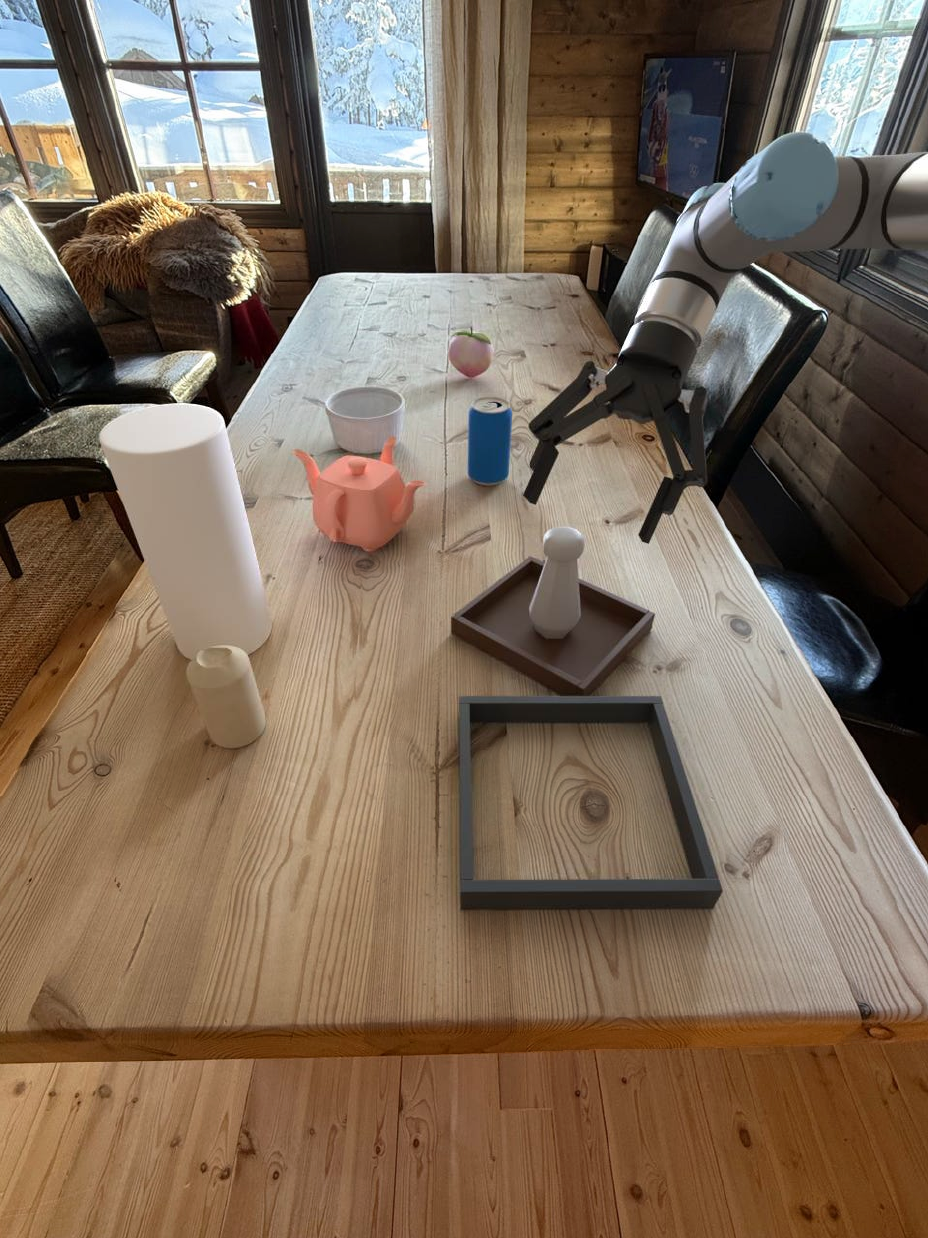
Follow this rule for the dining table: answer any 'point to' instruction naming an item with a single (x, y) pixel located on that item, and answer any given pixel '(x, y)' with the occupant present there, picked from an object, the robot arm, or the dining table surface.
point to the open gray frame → (587, 891)
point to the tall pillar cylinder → (190, 524)
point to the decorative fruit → (470, 352)
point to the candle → (227, 695)
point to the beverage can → (489, 440)
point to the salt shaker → (558, 584)
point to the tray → (553, 663)
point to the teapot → (360, 498)
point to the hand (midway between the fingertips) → (583, 519)
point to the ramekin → (365, 418)
